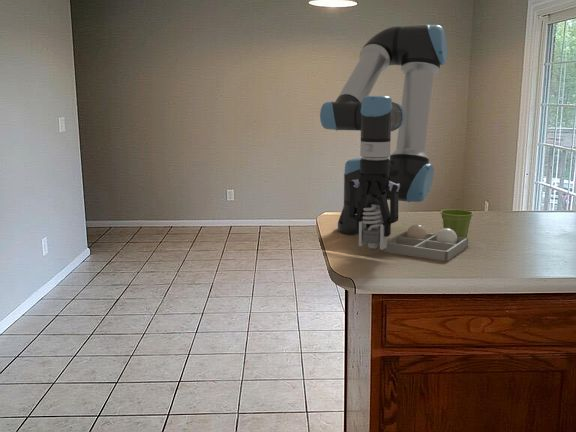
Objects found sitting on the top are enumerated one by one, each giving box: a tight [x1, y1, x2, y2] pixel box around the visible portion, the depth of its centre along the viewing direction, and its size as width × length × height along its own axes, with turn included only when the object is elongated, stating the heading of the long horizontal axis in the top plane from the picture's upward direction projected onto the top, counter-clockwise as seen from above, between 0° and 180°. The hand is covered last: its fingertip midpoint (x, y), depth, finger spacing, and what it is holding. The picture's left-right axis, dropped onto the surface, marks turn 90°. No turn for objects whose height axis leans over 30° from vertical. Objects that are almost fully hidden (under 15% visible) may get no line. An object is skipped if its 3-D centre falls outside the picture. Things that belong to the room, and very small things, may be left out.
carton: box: [381, 229, 469, 262], centre depth 164 cm, size 18×18×3 cm
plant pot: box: [439, 209, 474, 238], centre depth 176 cm, size 9×9×9 cm
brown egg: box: [406, 224, 428, 240], centre depth 170 cm, size 6×6×6 cm
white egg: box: [436, 227, 457, 244], centre depth 165 cm, size 6×6×6 cm
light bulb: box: [362, 204, 383, 251], centre depth 155 cm, size 6×6×12 cm
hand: (372, 246), depth 156 cm, fingers closed on light bulb, 5 cm apart
